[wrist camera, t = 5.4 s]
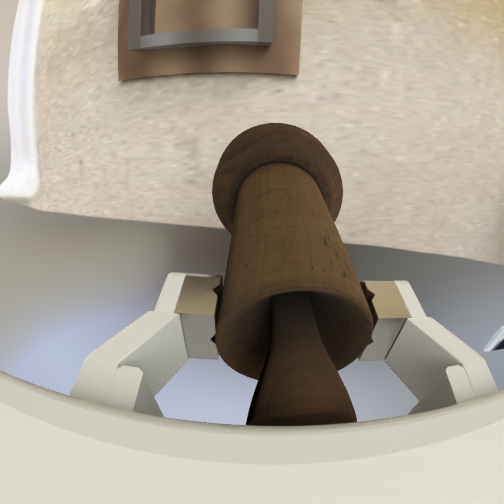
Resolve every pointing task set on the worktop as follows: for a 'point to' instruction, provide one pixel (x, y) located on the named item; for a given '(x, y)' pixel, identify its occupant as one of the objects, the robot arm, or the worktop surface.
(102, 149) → the worktop surface
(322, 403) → the wooden pepper mill
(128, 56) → the holder board
